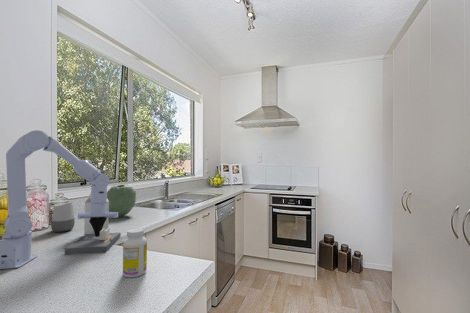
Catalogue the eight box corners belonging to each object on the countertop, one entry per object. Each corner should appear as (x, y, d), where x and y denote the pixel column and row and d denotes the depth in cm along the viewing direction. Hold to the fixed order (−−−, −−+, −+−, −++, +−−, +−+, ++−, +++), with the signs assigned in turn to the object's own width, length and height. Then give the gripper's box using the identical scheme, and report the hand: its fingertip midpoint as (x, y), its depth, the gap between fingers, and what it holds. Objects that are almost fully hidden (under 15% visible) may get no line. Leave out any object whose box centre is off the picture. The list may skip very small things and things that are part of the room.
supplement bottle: (139, 266, 76) (140, 226, 76) (150, 272, 72) (151, 229, 72) (118, 273, 71) (119, 230, 71) (129, 280, 66) (130, 234, 67)
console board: (106, 251, 88) (107, 244, 88) (64, 254, 85) (65, 246, 85) (120, 236, 106) (120, 230, 106) (86, 238, 103) (86, 232, 103)
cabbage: (100, 216, 146) (101, 183, 147) (132, 212, 157) (133, 182, 158) (103, 221, 134) (104, 185, 134) (138, 217, 144) (139, 184, 145)
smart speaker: (56, 228, 118) (57, 200, 118) (77, 227, 120) (78, 200, 121) (46, 234, 109) (47, 203, 109) (69, 232, 111) (70, 203, 111)
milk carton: (83, 235, 108) (85, 193, 108) (99, 231, 114) (100, 192, 115) (93, 237, 104) (94, 194, 105) (108, 233, 111) (109, 192, 111)
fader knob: (106, 239, 94) (106, 230, 94) (99, 240, 94) (99, 230, 94) (109, 236, 98) (109, 228, 98) (103, 237, 98) (103, 228, 98)
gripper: (120, 200, 101) (119, 232, 101) (83, 201, 99) (82, 233, 98) (115, 203, 95) (114, 237, 94) (75, 204, 92) (74, 239, 91)
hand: (97, 235), depth 96 cm, fingers closed
